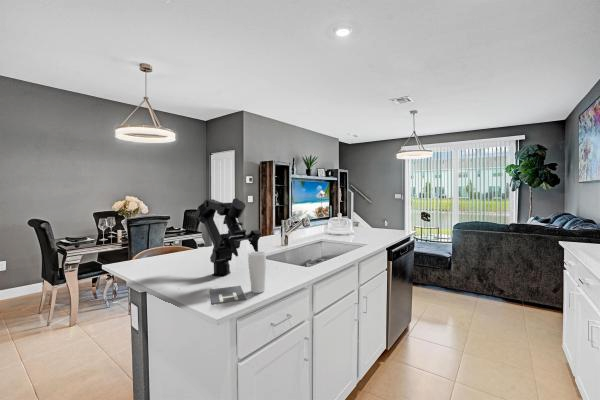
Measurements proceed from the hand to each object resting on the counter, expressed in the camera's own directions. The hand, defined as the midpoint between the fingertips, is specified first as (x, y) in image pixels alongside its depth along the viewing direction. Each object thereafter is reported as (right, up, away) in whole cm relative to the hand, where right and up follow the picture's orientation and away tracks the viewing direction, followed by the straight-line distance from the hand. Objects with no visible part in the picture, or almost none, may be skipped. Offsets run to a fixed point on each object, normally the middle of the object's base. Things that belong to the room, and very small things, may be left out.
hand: (247, 254), depth 120 cm
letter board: (-6, -14, -8) cm, 17 cm away
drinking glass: (+5, -14, -5) cm, 15 cm away
